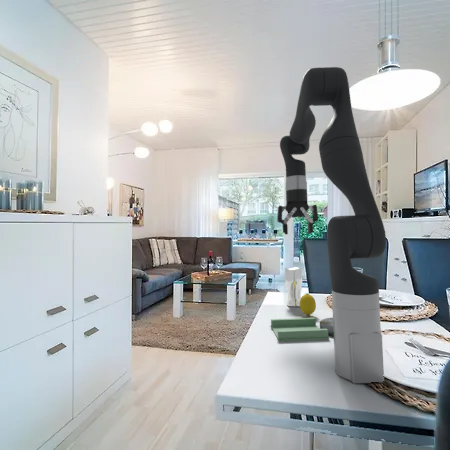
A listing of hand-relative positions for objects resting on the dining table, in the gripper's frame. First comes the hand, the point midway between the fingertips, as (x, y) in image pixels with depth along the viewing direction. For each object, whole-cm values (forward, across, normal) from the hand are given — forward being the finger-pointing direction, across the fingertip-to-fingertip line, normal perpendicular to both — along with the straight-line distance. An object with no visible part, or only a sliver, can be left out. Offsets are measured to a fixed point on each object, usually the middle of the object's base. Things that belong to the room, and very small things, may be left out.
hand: (298, 234), depth 109 cm
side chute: (+29, -6, -18) cm, 35 cm away
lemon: (+29, +2, -1) cm, 30 cm away
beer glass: (+29, +1, +15) cm, 33 cm away
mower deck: (+29, +8, -18) cm, 35 cm away
